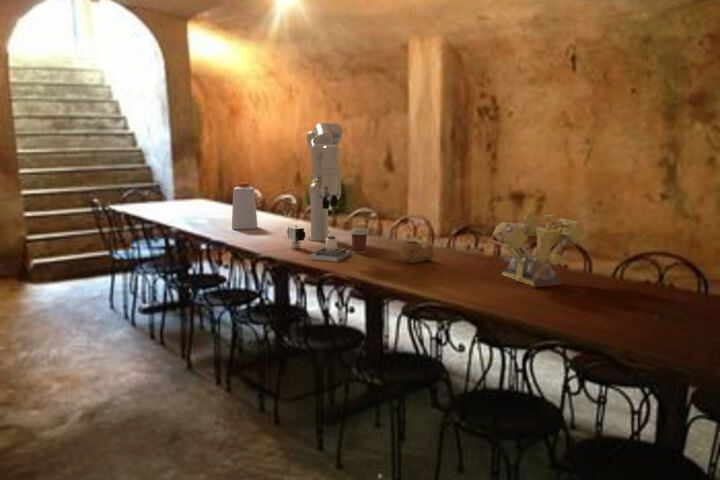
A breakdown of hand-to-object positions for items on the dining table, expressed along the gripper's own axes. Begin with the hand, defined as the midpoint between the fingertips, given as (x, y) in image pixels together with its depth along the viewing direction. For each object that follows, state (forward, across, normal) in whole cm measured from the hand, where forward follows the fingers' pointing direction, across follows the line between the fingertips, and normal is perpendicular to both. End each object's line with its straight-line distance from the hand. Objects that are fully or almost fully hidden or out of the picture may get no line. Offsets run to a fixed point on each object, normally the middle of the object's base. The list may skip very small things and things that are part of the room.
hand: (330, 207), depth 296 cm
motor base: (+24, +3, +2) cm, 24 cm away
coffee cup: (+24, -14, +10) cm, 30 cm away
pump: (+22, +3, +2) cm, 22 cm away
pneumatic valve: (+24, -10, -23) cm, 35 cm away
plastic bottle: (+26, -54, -81) cm, 100 cm away
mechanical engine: (+23, +13, +97) cm, 101 cm away
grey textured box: (+24, -3, +44) cm, 50 cm away
